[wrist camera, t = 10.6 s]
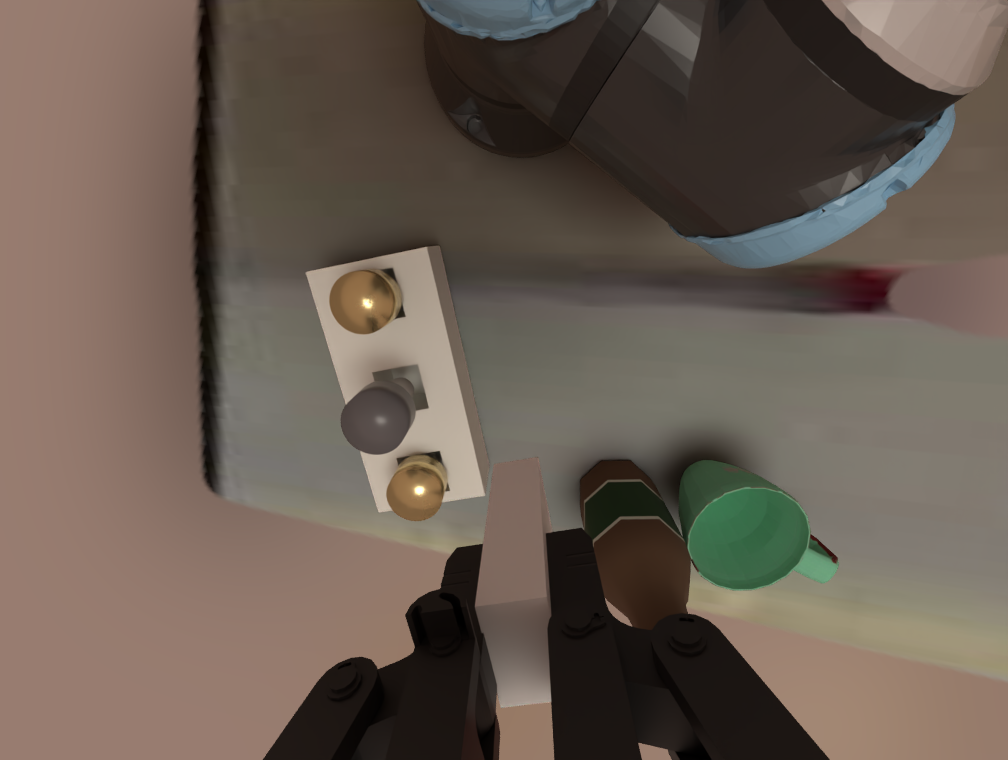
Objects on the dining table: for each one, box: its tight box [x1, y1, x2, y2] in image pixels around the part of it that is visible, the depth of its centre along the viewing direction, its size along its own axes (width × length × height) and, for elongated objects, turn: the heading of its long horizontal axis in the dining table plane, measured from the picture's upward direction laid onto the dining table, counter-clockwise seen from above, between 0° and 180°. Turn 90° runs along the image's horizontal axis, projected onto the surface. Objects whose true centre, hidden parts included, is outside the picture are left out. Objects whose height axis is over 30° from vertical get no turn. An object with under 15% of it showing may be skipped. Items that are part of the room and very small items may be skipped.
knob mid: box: [341, 377, 416, 455], centre depth 38 cm, size 5×5×8 cm
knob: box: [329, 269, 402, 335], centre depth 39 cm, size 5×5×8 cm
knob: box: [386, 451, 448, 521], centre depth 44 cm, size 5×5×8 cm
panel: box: [306, 245, 490, 512], centre depth 44 cm, size 22×10×6 cm, turn 11°
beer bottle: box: [580, 461, 691, 630], centre depth 38 cm, size 8×8×24 cm
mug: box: [679, 460, 839, 590], centre depth 45 cm, size 15×10×10 cm
